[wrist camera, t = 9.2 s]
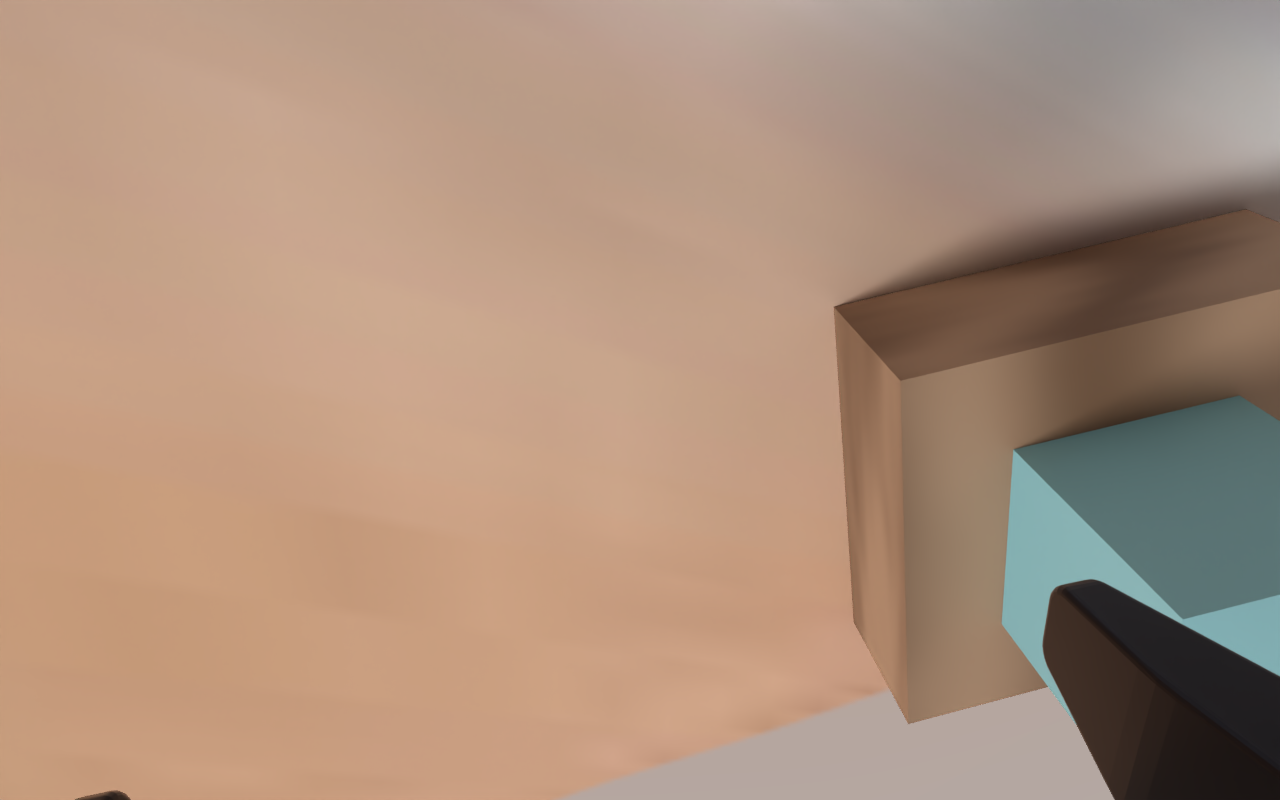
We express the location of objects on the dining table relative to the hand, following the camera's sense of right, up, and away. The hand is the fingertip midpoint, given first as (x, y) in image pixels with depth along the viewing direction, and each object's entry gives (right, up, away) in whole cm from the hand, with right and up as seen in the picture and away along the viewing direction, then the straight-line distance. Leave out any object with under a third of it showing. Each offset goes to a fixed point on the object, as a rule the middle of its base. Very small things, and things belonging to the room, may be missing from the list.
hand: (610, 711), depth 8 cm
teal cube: (+11, 0, +11) cm, 15 cm away
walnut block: (+10, +2, +15) cm, 18 cm away
